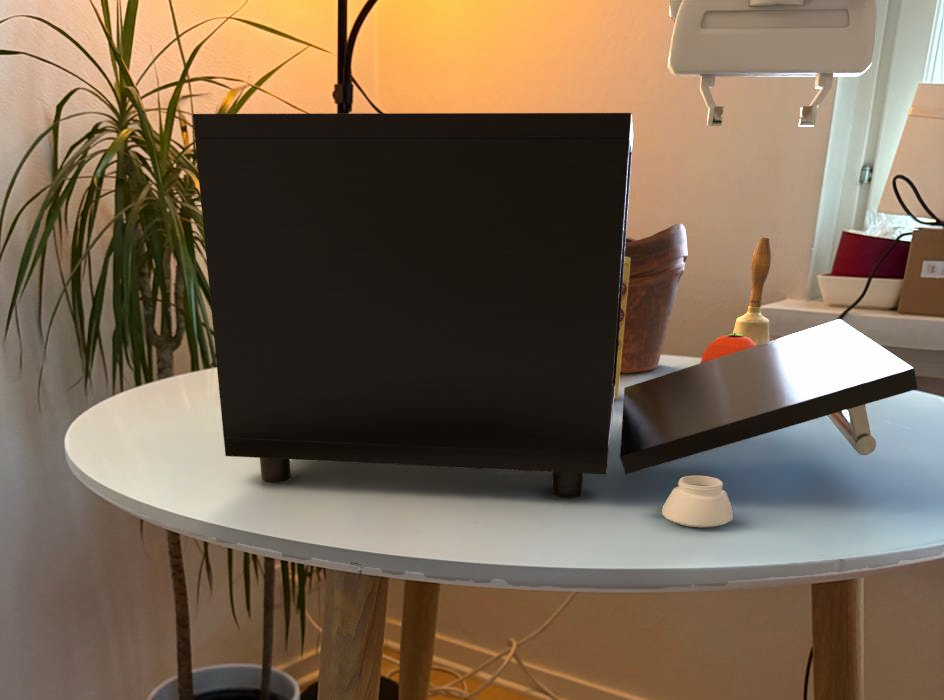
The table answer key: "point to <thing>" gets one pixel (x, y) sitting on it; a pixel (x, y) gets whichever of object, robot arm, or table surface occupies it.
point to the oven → (417, 287)
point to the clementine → (726, 346)
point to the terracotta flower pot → (651, 295)
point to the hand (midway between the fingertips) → (759, 126)
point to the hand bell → (757, 296)
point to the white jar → (698, 503)
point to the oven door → (762, 395)
